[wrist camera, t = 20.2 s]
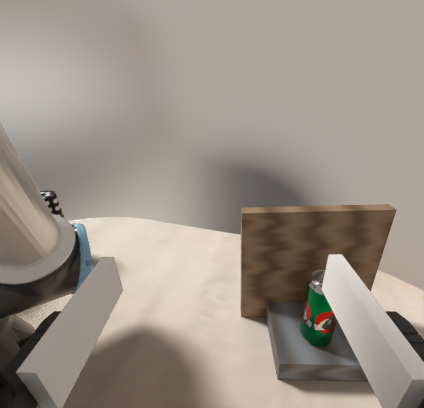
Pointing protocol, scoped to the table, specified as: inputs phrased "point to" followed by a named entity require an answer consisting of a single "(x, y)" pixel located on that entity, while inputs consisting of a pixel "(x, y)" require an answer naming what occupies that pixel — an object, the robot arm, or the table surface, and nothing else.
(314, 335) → the soda can
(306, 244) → the wall board
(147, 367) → the table surface
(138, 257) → the table surface
